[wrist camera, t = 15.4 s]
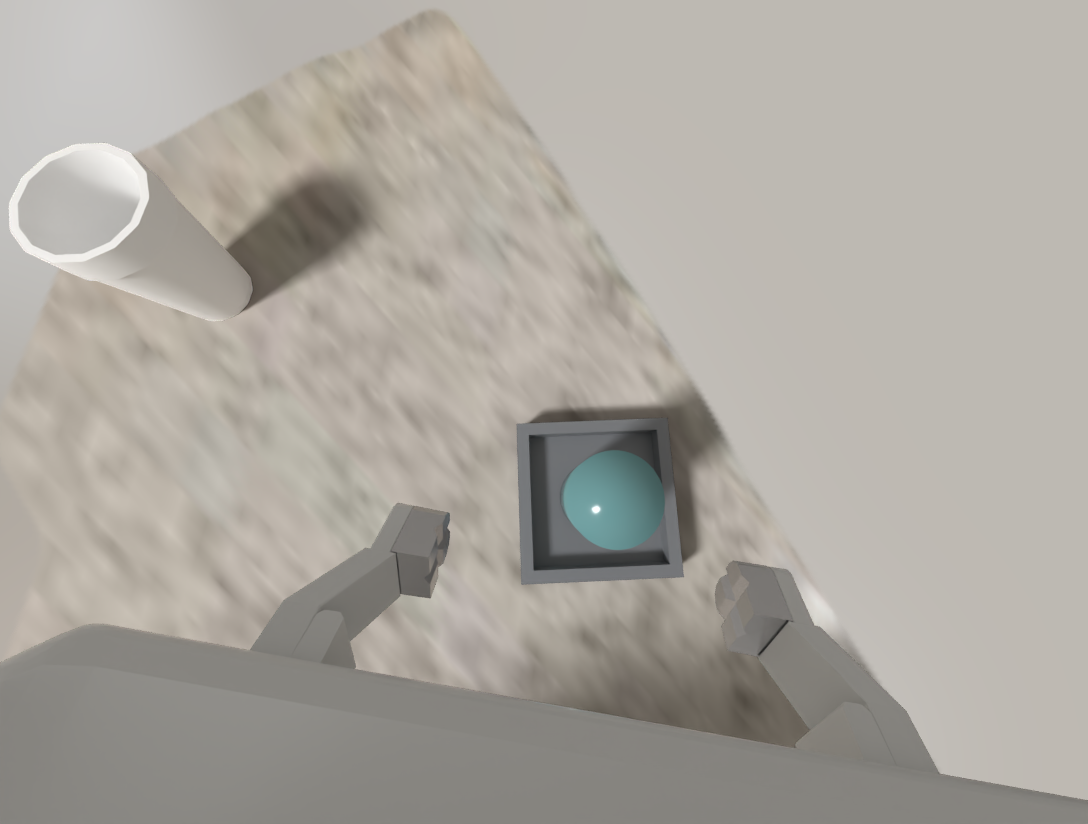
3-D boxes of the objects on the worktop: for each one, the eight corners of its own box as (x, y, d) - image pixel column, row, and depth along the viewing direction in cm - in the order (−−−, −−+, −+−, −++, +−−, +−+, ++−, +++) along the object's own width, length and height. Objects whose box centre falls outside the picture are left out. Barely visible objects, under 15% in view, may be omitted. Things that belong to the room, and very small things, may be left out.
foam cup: (286, 269, 42) (175, 170, 29) (237, 350, 40) (98, 282, 28) (204, 236, 43) (61, 125, 30) (153, 314, 41) (-21, 232, 28)
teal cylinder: (631, 531, 36) (669, 548, 25) (561, 534, 36) (569, 551, 25) (626, 461, 37) (660, 448, 26) (558, 463, 37) (565, 451, 26)
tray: (672, 570, 37) (683, 577, 34) (523, 577, 37) (521, 584, 34) (657, 423, 39) (667, 417, 36) (518, 429, 39) (516, 423, 36)
